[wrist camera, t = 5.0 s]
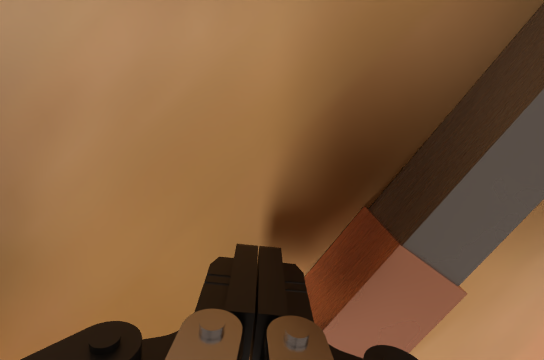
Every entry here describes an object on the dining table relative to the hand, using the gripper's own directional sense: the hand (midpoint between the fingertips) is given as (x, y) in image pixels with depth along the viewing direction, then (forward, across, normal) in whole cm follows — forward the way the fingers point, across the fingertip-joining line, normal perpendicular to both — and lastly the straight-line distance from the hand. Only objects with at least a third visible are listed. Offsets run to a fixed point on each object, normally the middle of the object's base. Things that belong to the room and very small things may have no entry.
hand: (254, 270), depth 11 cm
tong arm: (+1, -6, -4) cm, 8 cm away
